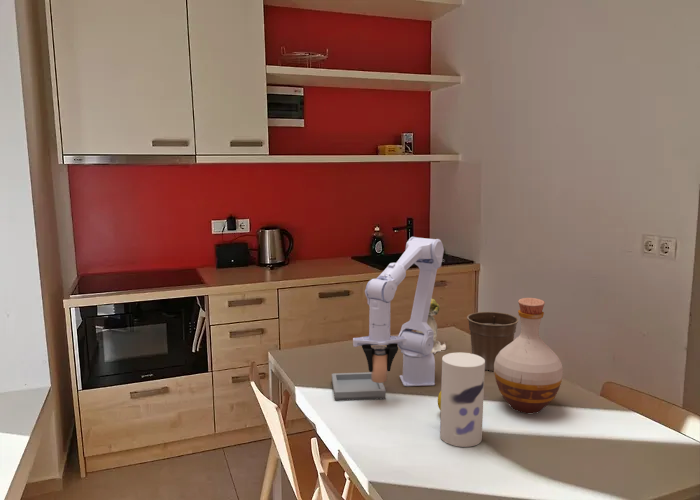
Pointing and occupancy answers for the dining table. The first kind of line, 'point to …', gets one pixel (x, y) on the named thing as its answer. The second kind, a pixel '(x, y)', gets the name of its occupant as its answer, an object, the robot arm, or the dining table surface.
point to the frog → (434, 326)
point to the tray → (356, 387)
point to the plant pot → (491, 334)
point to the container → (462, 399)
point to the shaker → (379, 364)
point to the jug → (528, 364)
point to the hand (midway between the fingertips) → (379, 370)
